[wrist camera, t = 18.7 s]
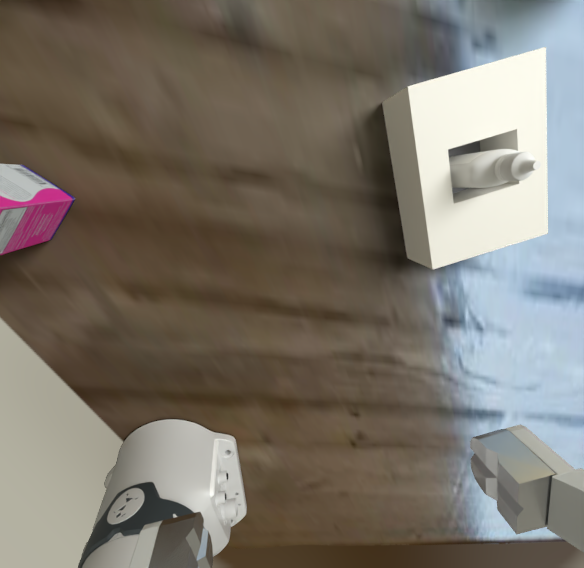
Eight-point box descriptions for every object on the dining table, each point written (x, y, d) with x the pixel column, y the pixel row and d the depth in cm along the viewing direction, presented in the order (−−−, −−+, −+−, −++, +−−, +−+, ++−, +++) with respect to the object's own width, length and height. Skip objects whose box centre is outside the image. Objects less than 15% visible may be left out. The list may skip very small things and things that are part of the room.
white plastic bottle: (437, 145, 37) (521, 127, 26) (477, 160, 38) (575, 148, 27) (423, 183, 38) (498, 181, 27) (463, 196, 39) (550, 200, 28)
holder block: (506, 227, 42) (547, 233, 36) (407, 258, 41) (432, 269, 35) (498, 69, 36) (545, 46, 30) (381, 102, 35) (407, 86, 30)
